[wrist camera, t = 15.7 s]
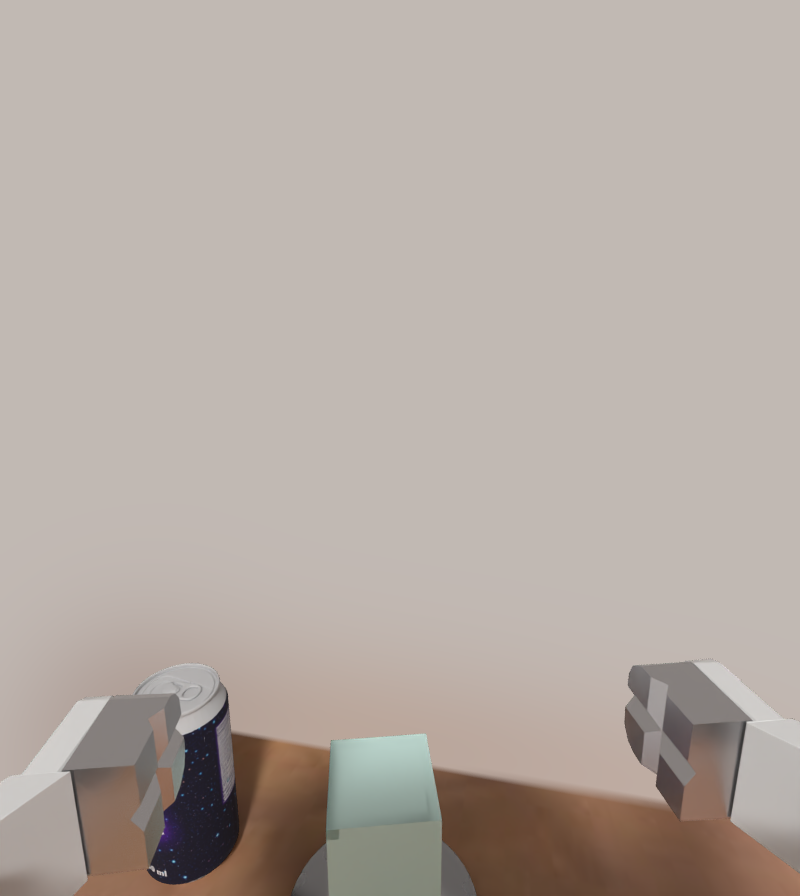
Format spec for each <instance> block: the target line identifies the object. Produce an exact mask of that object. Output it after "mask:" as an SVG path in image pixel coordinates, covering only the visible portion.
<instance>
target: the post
mask: <svg viewBox="0 0 800 896" xmlns="http://www.w3.org/2000/svg"><path fill="white" fill-rule="evenodd" d="M291 896H329V889H328V866H327V843H326V844H324V845H323V846H322V847H321V848H320V849H319V850H318V851H317V852H316V853H315V854H314V855H313V857H312V858H311V859H310V860H309V862H308V863H307V864H306V866H305V867H304V869H303V870H302V872H301V874H300V876H299V878H298V879H297V882H296V884H295V886H294V889H293V891H292V894H291ZM441 896H477V895H476V891H475V888H474V885H473V883H472V880H471V878H470V876H469V874H468V872H467V870H466V868H465V866H464V865H463V863H462V862H461V860H460V859H459V858H458V856H457V855H456V854H455V853H454V852H453V850H452V849H451V848H450V847H449V846H448V845H447V844H445V843H444V842H443V841H442V853H441Z"/></svg>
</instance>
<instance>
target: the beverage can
mask: <svg viewBox="0 0 800 896" xmlns="http://www.w3.org/2000/svg"><path fill="white" fill-rule="evenodd" d="M168 693H175V694H176V695H177V696H178V697H179V701H180V708H181V716H180V719H179V721H178V723H177V726H176V729H177V731H178V732H179V733H180V734H181V735H182V736H183V737H184V744H185V765H184V770H183V776H182V781H181V785H180V788H179V791H178V794H177V796H176V799H175V801H174V802H173V803H172V804H171V805H170V806H169V807H168V808H167V809H165V810H164V811H163V814H164V823H165V828H164V831H163V833H162V836H161V838H160V841H159V843H158V846H157V849H156V851H155V854H154V856H153V859H152V861H151V864H150V867H149V869H147V871H148V873H149V874H150V875H151V876H152V877H153V878H154V879H156V880H157V881H159V882H162V883H166V884H184V883H189V882H193V881H196V880H198V879H200V878H202V877H204V876H205V875H207V874H208V873H210V872H211V871H212V870H214V869H215V868H216V867H217V866H219V865H220V864H221V863H222V862H223V861H224V860H225V858H226V857H227V856H228V855H229V853H230V852H231V850H232V848H233V847H234V845H235V842H236V840H237V837H238V832H239V819H238V807H237V796H236V784H235V772H234V761H233V749H232V738H231V726H230V716H229V704H228V693H227V690H226V688H225V687H224V686H223V684H222V683H221V682H220V678H219V675H218V673H217V672H216V671H215V670H214V669H213V668H212V667H210V666H207V665H204V664H197V663H188V664H180V665H175V666H172V667H168V668H165V669H163V670H161V671H159V672H157V673H155V674H153V675H151V676H150V677H148V678H147V679H145V680H144V681H143V682H142V683H141V684H140V685H139V686H138V687H137V688H136V690H135V691H134V693H133V695H142V694H168Z"/></svg>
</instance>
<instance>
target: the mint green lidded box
mask: <svg viewBox="0 0 800 896" xmlns="http://www.w3.org/2000/svg"><path fill="white" fill-rule="evenodd" d="M326 842H327V866H328V889H329V896H441V853H442V818H441V812H440V807H439V801H438V796H437V790H436V785H435V780H434V774H433V769H432V763H431V758H430V752H429V747H428V742H427V736H426V734H415V735H414V734H413V735H399V736H386V737H372V738H359V739H344V740H331V747H330V766H329V784H328V802H327V821H326Z"/></svg>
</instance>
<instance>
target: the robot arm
mask: <svg viewBox="0 0 800 896" xmlns="http://www.w3.org/2000/svg"><path fill="white" fill-rule="evenodd" d="M628 686H629V688H630V689H631V691H632V692H633V694H634V695H635V696H634V697H633V698H632V699H631V701H630V702H629V703H628V704H627V705H626V707H625V728H626V733H627V738H628V741H629V743H630V746H631V748H632V750H633V752H634V754H635V755H636V757H637V759H638V760H639V762H640V763H641V764H642V765H643V766H645V767H647V768H648V769H650V770H651V771H653V772H654V773H656V774H657V780H656V787H657V788H658V790H659V791H660V793H661V794H662V796H663V797H664V799H665V800H666V802H667V803H668V805H669V806H670V807H671V809H672V810H673V812H674V813H675V815H676V816H677V818H678V819H679V821H694V820H712V819H730V818H731V820H730V821H731V822H732V823H733V824H735V825H736V826H737V827H739V828H740V829H741V830H743V831H744V832H745V833H747V834H748V835H749V836H751V837H752V838H753V839H755V840H756V841H757V842H759V843H760V844H761V845H763V846H764V847H765V848H767V849H768V850H769V851H771V852H772V853H773V854H775V855H776V856H777V857H779V858H780V859H781V860H783V861H784V862H785V863H787V864H788V865H789V866H791V867H792V868H793V869H795V870H796V871H797V872H798V873H800V722H799V721H797V720H795V719H784V718H782V717H781V716H780V715H779V714H778V713H777V712H776V711H775V710H773V709H772V708H771V707H770V706H769V705H768V704H766V703H765V702H764V701H763V700H762V699H761V698H760V697H759V696H757V695H756V694H755V693H754V692H753V691H752V690H751V689H750V688H748V687H747V686H746V685H745V684H744V683H743V682H742V681H740V680H739V679H738V678H737V677H736V676H735V675H734V674H732V673H731V672H730V671H729V670H728V669H727V668H725V666H723V665H722V664H721V663H720V662H718V661H715V660H713V659H702V660H692V661H685V662H679V663H665V664H650V665H635V666H633V667H632V669H631V671H630V673H629V679H628ZM180 716H181V708H180V701H179V697H178V696H177V695H176V694H175V693H168V694H142V695H116V696H100V697H85V698H83V699H81V700H79V701H77V703H76V704H75V705H74V706H73V708H72V709H71V710H70V712H69V713H68V714H67V715H66V717H65V718H64V719H63V721H62V722H61V723H60V725H59V726H58V727H57V729H56V730H55V731H54V733H53V734H52V735H51V737H50V738H49V739H48V740H47V742H46V743H45V744H44V746H43V747H42V748H41V750H40V751H39V752H38V754H37V755H36V756H35V757H34V759H33V760H32V761H31V763H30V764H29V766H28V767H27V768H26V769H25V771H24V772H23V773H22V774H21V775H13V776H9V777H8V778H6V779H5V780H3V781H2V782H0V896H73V895H74V894H75V893H76V892H77V891H78V890H79V889H80V888H81V887H82V886H83V885H84V884H85V883H86V881H87V880H88V877H87V876H95V875H103V874H111V873H120V872H128V871H136V870H144V869H149V867H150V864H151V861H152V859H153V856H154V854H155V851H156V849H157V846H158V843H159V841H160V838H161V836H162V833H163V831H164V828H165V823H164V814H163V811H164V810H165V809H167V808H168V807H169V806H170V805H171V804H172V803H173V802H174V801H175V799H176V796H177V794H178V791H179V788H180V785H181V781H182V776H183V770H184V765H185V744H184V737H183V736H182V735H181V734H180V733H179V732H178V731H177V729H176V726H177V723H178V721H179V719H180Z"/></svg>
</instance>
